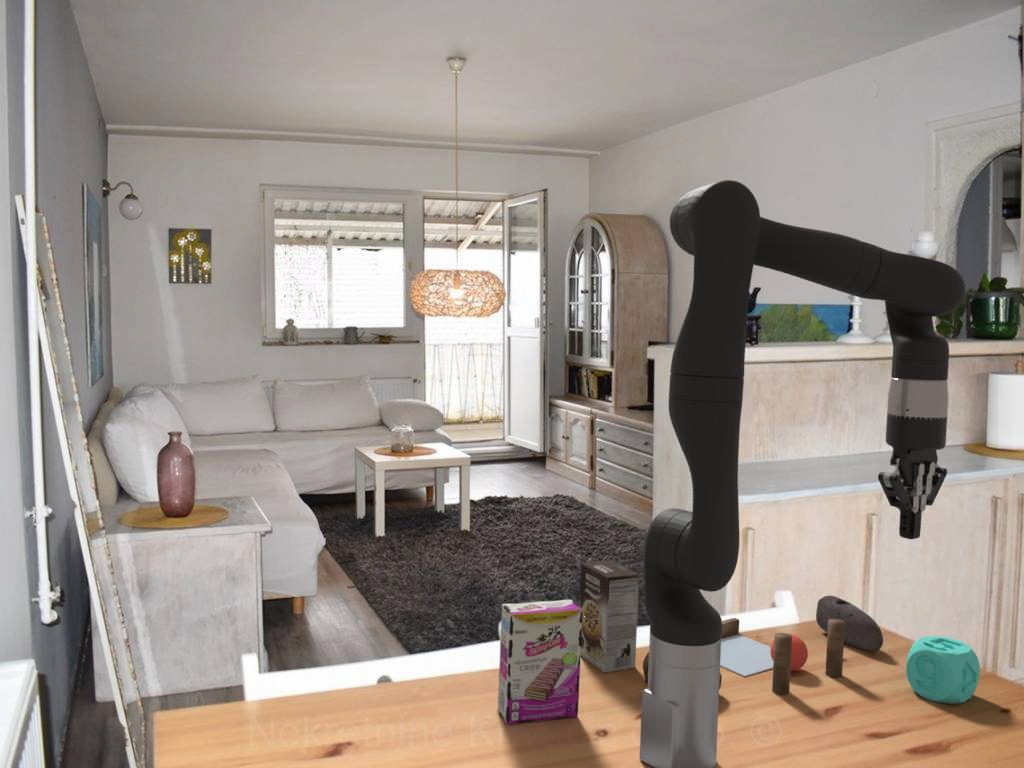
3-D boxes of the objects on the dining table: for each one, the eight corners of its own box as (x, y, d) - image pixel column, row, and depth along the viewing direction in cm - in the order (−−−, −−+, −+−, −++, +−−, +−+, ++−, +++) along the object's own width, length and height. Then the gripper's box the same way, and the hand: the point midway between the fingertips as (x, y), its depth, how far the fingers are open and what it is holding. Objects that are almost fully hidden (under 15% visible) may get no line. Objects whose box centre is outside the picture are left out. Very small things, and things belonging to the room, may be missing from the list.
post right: (835, 679, 152) (838, 625, 151) (822, 673, 154) (824, 620, 154) (845, 675, 154) (848, 622, 153) (832, 670, 156) (834, 617, 155)
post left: (781, 696, 145) (784, 639, 144) (768, 690, 147) (771, 634, 146) (792, 692, 146) (795, 636, 146) (779, 687, 149) (782, 631, 148)
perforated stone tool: (892, 656, 163) (894, 618, 162) (867, 660, 161) (869, 620, 161) (835, 628, 177) (837, 592, 177) (812, 631, 175) (813, 594, 175)
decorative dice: (978, 696, 147) (981, 646, 146) (953, 709, 142) (957, 658, 141) (929, 679, 153) (932, 632, 152) (903, 691, 148) (906, 642, 147)
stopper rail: (675, 649, 164) (676, 635, 164) (670, 647, 165) (671, 633, 165) (738, 632, 173) (739, 619, 173) (733, 630, 174) (734, 617, 174)
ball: (797, 670, 150) (786, 632, 152) (768, 675, 155) (758, 638, 157) (819, 666, 154) (809, 629, 156) (790, 671, 158) (781, 635, 160)
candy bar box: (507, 727, 132) (509, 614, 131) (497, 712, 137) (499, 603, 136) (580, 718, 136) (583, 607, 134) (568, 703, 141) (571, 597, 139)
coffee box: (576, 654, 161) (579, 562, 159) (608, 649, 163) (611, 558, 162) (603, 673, 152) (606, 576, 151) (637, 668, 155) (640, 572, 154)
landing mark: (744, 677, 152) (744, 675, 152) (683, 649, 164) (683, 648, 164) (800, 660, 160) (800, 659, 160) (738, 635, 172) (738, 634, 172)
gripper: (913, 417, 120) (905, 550, 121) (970, 412, 127) (962, 537, 129) (862, 411, 126) (855, 537, 127) (920, 407, 133) (912, 526, 135)
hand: (909, 537), depth 128 cm, fingers closed
